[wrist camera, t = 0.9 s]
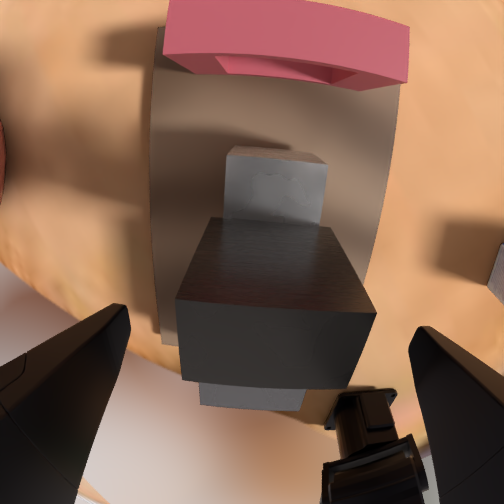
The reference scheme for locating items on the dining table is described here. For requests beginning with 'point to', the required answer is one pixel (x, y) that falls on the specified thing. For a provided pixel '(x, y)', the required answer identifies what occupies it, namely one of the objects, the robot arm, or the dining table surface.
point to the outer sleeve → (251, 397)
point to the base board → (266, 136)
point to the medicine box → (498, 276)
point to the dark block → (271, 283)
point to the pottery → (2, 160)
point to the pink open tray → (287, 42)
